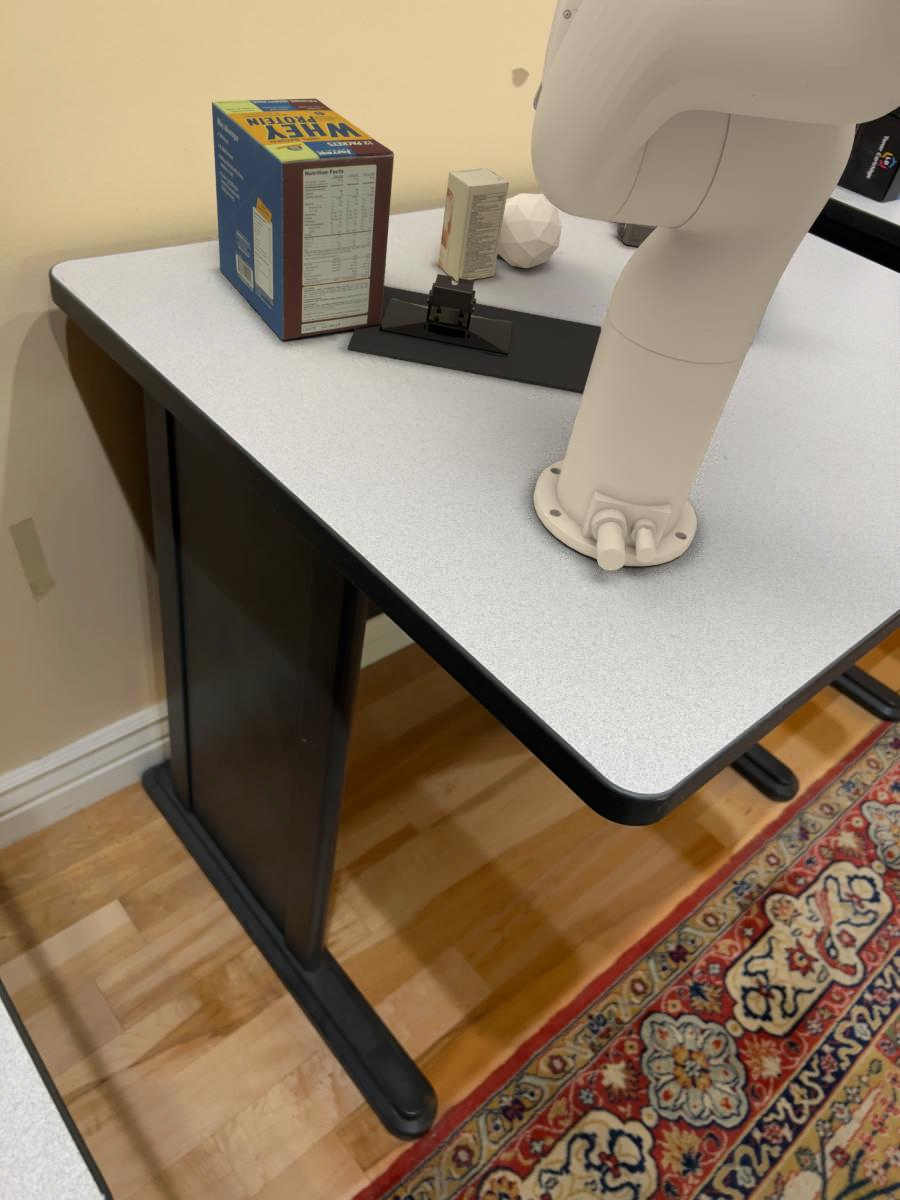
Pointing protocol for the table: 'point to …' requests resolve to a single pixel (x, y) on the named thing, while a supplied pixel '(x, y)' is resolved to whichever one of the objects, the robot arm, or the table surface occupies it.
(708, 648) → the table surface
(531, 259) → the geometric ball
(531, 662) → the table surface
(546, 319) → the desk mat
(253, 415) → the table surface
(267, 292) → the protein box
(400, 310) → the build plate
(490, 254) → the printed cream carton
